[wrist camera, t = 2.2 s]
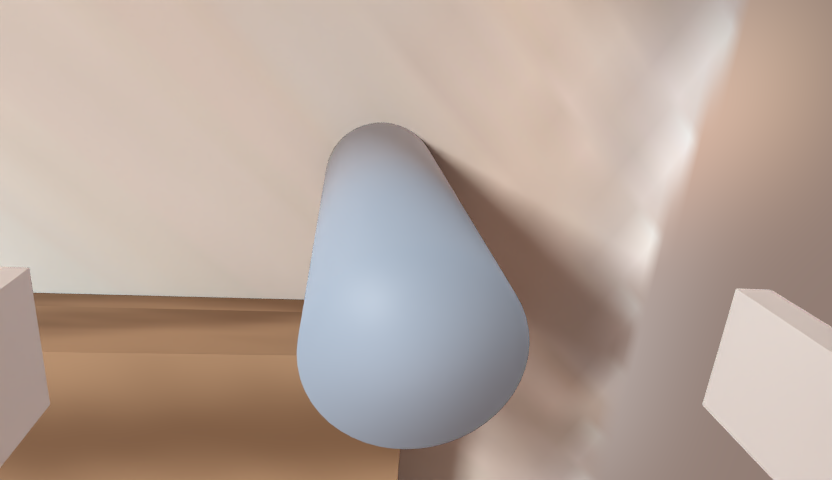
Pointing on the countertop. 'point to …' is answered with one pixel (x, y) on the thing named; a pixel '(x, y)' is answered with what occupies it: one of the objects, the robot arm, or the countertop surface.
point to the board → (181, 395)
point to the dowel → (404, 301)
